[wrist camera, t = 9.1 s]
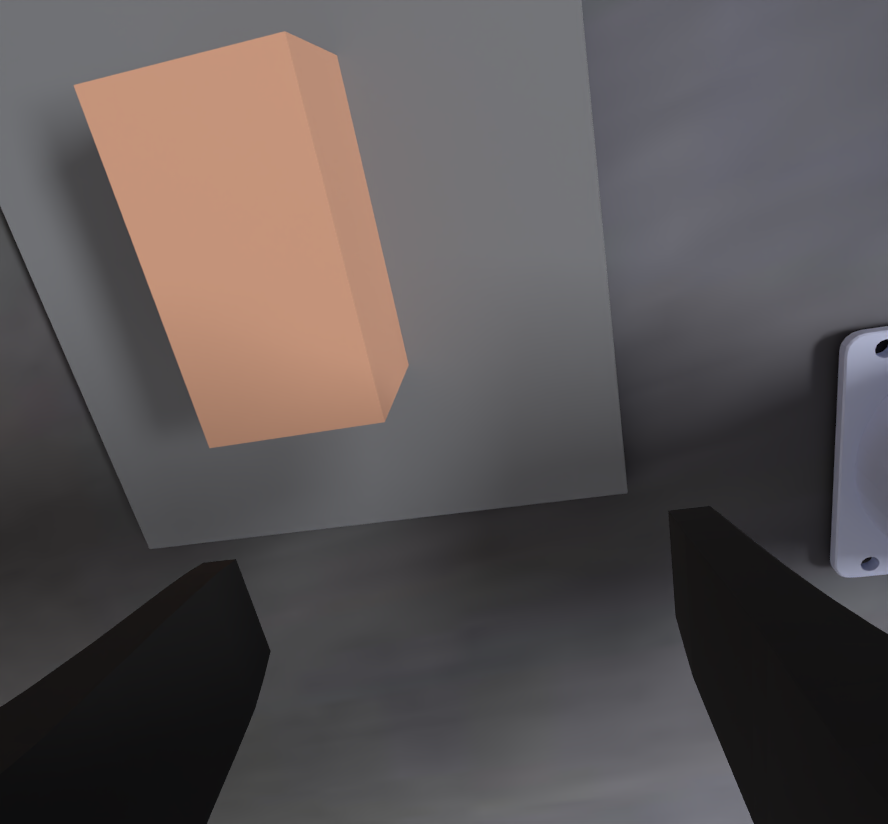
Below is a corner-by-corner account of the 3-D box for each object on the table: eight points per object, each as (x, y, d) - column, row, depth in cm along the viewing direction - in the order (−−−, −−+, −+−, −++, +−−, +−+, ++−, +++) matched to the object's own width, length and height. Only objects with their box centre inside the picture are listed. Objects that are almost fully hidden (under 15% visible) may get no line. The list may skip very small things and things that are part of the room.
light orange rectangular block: (408, 365, 18) (384, 421, 15) (266, 388, 19) (209, 448, 16) (337, 55, 16) (284, 30, 12) (170, 96, 16) (73, 84, 13)
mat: (552, -270, 13) (554, -287, 13) (624, 483, 20) (627, 493, 20) (-103, -72, 16) (-125, -80, 15) (158, 538, 23) (149, 549, 22)
